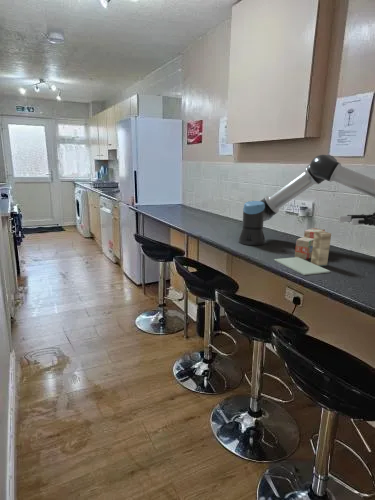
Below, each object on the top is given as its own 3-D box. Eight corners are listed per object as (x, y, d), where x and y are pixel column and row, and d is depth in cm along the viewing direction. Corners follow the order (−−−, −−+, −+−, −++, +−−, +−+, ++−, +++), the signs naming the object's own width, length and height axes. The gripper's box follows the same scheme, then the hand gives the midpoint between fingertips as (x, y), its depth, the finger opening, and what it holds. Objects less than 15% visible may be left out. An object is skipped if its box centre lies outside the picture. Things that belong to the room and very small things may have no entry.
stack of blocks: (306, 260, 158) (309, 235, 155) (294, 257, 162) (296, 233, 159) (322, 251, 174) (325, 229, 170) (310, 249, 178) (313, 227, 174)
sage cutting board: (274, 260, 156) (274, 259, 156) (297, 258, 160) (297, 257, 160) (304, 275, 136) (304, 273, 136) (330, 272, 140) (330, 271, 140)
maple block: (310, 263, 153) (314, 231, 149) (319, 262, 154) (323, 231, 150) (318, 266, 148) (322, 234, 144) (326, 265, 150) (331, 233, 146)
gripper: (400, 230, 149) (361, 232, 142) (365, 222, 167) (328, 224, 160) (403, 214, 147) (364, 215, 140) (367, 208, 165) (331, 209, 158)
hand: (345, 220), depth 150 cm, fingers open, 7 cm apart
